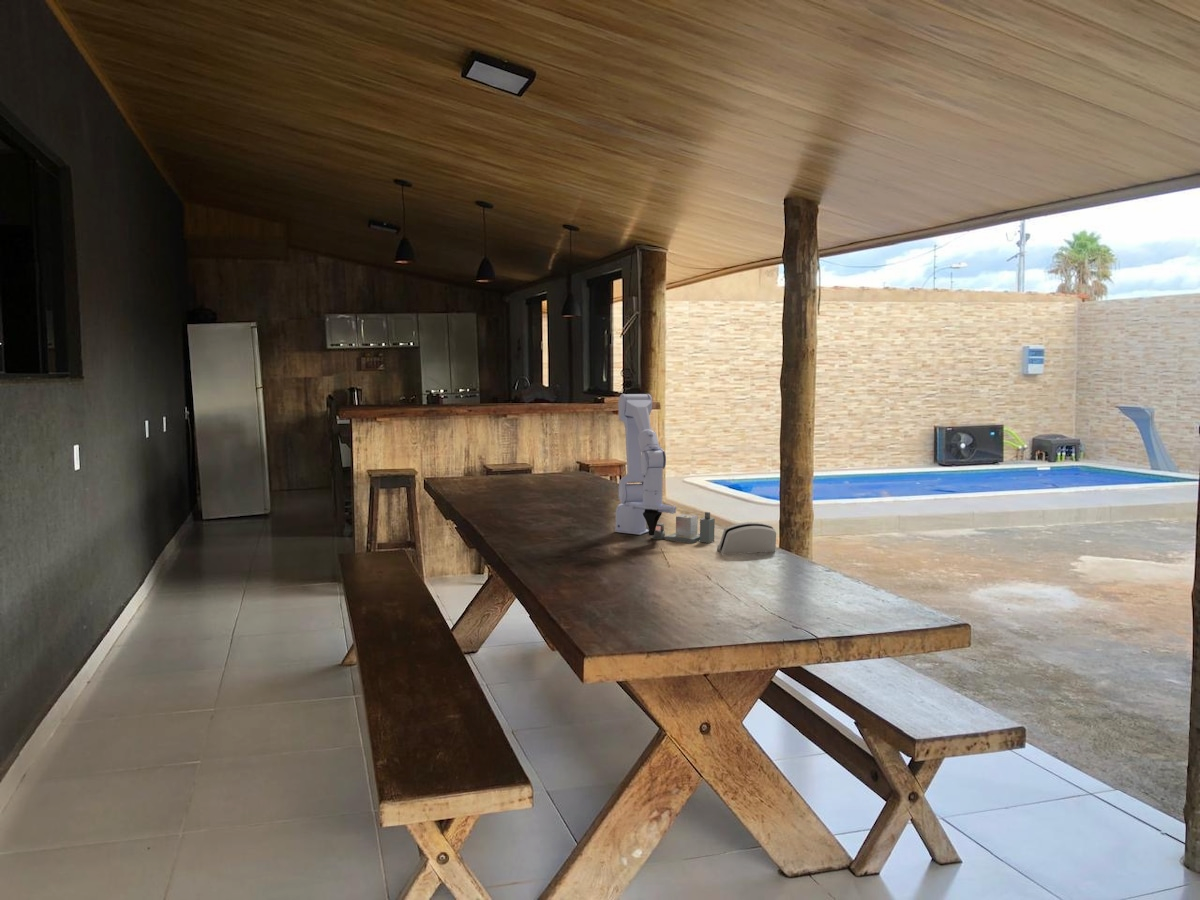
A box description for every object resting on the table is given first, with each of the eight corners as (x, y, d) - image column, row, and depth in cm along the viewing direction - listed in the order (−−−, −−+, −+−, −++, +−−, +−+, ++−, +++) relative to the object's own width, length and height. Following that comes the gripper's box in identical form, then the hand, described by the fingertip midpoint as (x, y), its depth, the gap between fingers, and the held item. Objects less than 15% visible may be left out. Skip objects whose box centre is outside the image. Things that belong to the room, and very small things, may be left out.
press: (649, 538, 288) (650, 509, 288) (663, 533, 297) (663, 505, 296) (704, 545, 279) (705, 515, 278) (717, 539, 287) (718, 510, 286)
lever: (651, 538, 277) (651, 531, 277) (653, 529, 291) (653, 522, 290) (662, 538, 277) (662, 531, 276) (663, 530, 290) (663, 523, 290)
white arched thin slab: (768, 548, 275) (774, 518, 271) (775, 556, 271) (781, 526, 267) (715, 550, 271) (720, 520, 267) (721, 559, 267) (726, 529, 262)
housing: (675, 535, 287) (675, 516, 286) (682, 533, 291) (682, 514, 290) (690, 537, 284) (690, 517, 283) (697, 534, 288) (697, 515, 288)
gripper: (625, 489, 279) (624, 534, 281) (668, 493, 272) (667, 539, 274) (636, 486, 285) (635, 530, 287) (679, 490, 278) (678, 535, 280)
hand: (652, 534), depth 281 cm, fingers closed, pressing on lever
